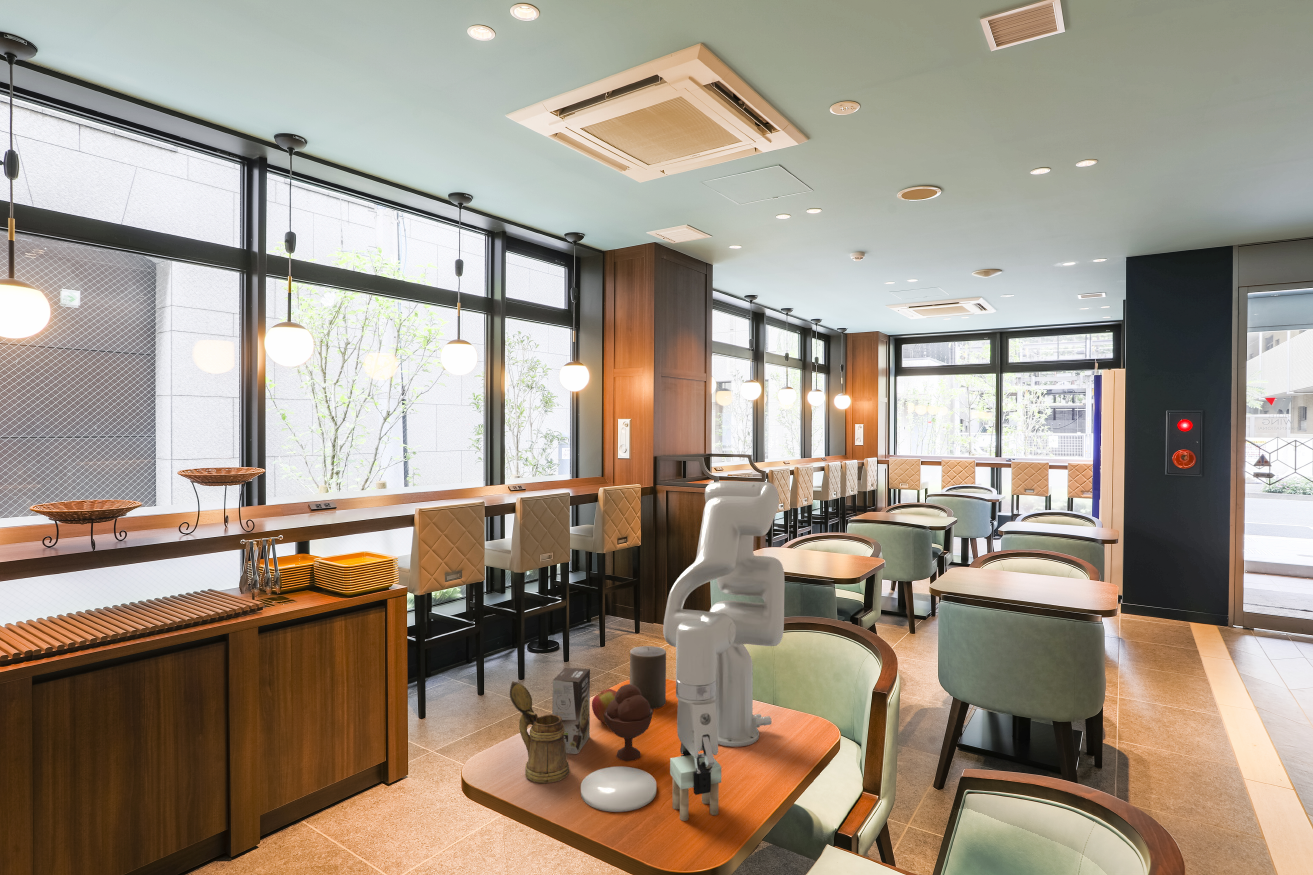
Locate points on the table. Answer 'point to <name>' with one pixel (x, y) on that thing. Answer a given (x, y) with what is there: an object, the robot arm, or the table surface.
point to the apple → (602, 703)
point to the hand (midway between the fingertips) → (695, 782)
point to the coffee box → (573, 706)
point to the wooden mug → (540, 739)
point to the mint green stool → (692, 784)
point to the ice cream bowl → (628, 718)
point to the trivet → (618, 789)
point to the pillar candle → (649, 673)
